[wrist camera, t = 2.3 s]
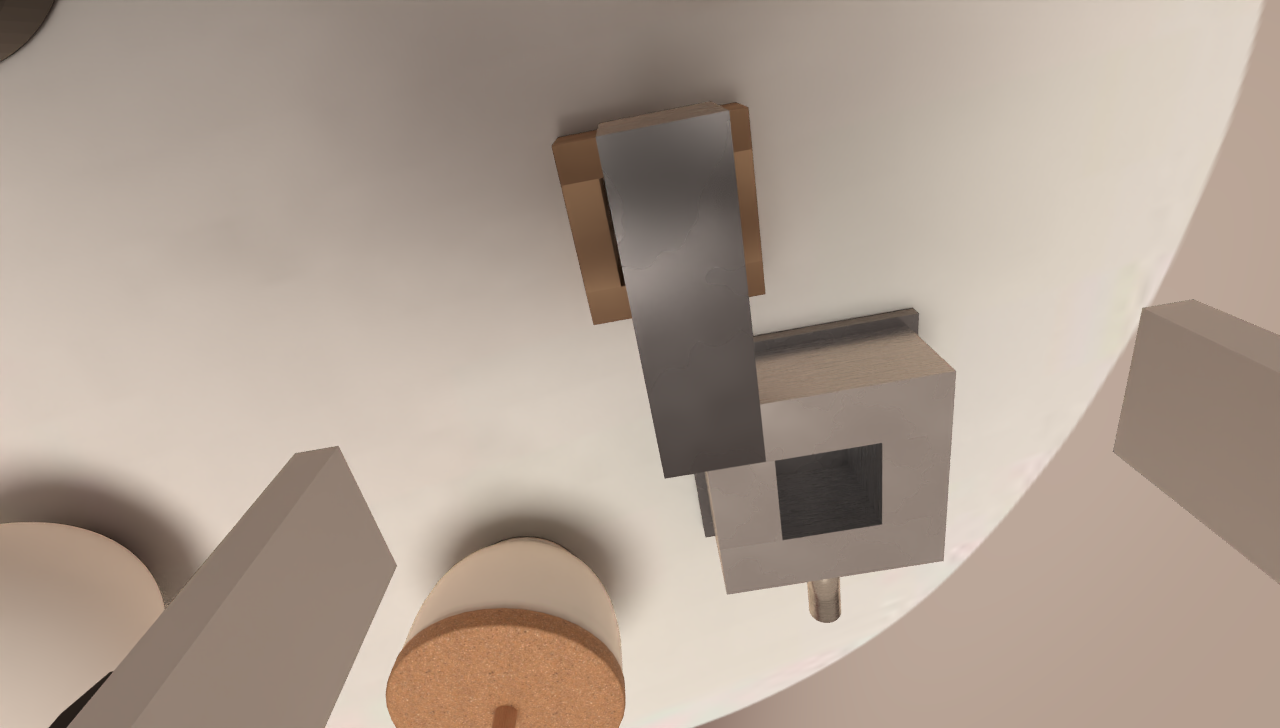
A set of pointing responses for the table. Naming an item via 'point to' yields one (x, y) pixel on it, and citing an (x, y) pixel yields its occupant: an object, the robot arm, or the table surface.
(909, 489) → the square block with stud
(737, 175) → the key stand
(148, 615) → the decorative ball
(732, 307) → the bar
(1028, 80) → the table surface
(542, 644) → the lidded jar
